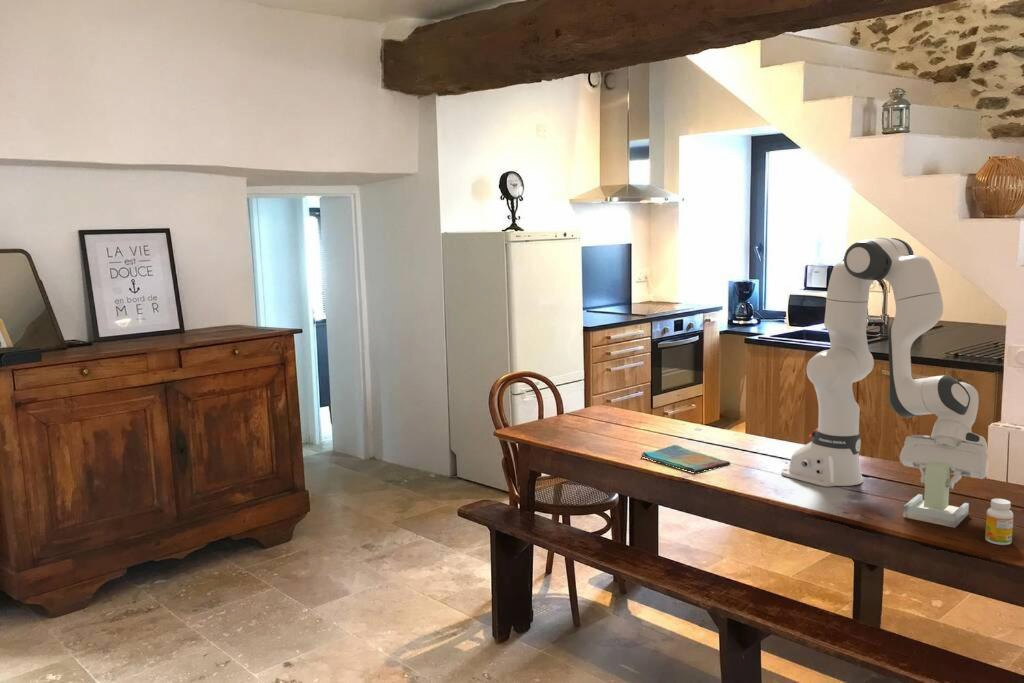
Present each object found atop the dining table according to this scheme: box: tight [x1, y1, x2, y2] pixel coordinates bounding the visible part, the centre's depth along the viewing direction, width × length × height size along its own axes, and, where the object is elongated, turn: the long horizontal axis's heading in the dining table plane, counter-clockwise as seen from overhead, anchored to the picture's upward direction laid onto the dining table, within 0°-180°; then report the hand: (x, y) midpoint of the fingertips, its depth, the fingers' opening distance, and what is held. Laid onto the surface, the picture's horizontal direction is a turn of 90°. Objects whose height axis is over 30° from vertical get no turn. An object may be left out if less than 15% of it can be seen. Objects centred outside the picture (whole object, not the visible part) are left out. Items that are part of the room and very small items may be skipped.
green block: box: [923, 461, 951, 511], centre depth 210 cm, size 4×4×11 cm
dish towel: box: [641, 444, 731, 474], centre depth 264 cm, size 17×23×2 cm
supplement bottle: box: [984, 498, 1014, 546], centre depth 193 cm, size 5×5×10 cm
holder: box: [902, 493, 970, 529], centre depth 211 cm, size 12×12×3 cm
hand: (936, 484), depth 209 cm, fingers closed on green block, 4 cm apart
